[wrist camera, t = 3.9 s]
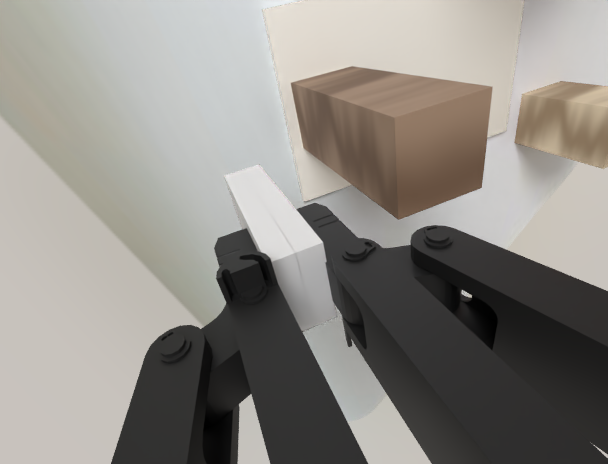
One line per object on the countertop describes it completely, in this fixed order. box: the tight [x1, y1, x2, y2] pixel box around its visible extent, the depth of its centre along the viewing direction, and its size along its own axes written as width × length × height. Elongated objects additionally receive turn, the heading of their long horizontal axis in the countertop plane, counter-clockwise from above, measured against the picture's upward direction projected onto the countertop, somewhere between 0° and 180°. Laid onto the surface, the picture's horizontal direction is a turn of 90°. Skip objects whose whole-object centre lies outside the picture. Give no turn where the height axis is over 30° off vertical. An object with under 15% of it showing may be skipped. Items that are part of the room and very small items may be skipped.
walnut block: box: [291, 66, 493, 220], centre depth 19 cm, size 4×4×12 cm
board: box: [262, 0, 525, 202], centre depth 26 cm, size 13×20×1 cm, turn 101°
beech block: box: [515, 81, 608, 169], centre depth 29 cm, size 4×4×8 cm
